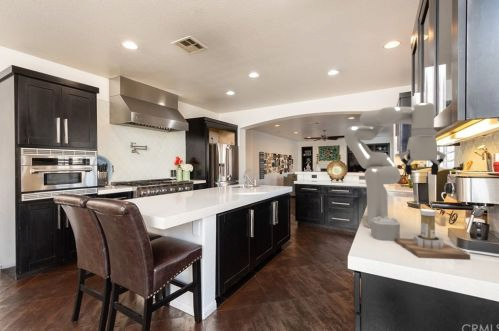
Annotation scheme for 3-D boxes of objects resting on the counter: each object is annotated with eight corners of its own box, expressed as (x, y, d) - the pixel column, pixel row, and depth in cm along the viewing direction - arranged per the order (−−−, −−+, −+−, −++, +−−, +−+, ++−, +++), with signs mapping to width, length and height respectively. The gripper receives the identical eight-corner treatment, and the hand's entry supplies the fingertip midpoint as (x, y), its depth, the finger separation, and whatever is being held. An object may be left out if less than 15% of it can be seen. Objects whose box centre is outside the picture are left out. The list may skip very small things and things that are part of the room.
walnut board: (394, 241, 101) (394, 238, 101) (436, 242, 99) (436, 239, 99) (418, 257, 83) (418, 253, 83) (470, 259, 81) (470, 254, 81)
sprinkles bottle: (437, 247, 88) (437, 211, 88) (423, 246, 89) (423, 210, 89) (432, 243, 93) (432, 209, 93) (418, 242, 94) (418, 208, 94)
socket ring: (409, 241, 96) (409, 234, 96) (433, 242, 95) (433, 234, 95) (422, 249, 87) (422, 240, 87) (449, 249, 86) (449, 241, 86)
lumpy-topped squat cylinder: (375, 240, 103) (375, 220, 103) (368, 232, 116) (368, 214, 116) (402, 241, 101) (402, 221, 101) (392, 233, 113) (392, 215, 113)
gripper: (439, 134, 102) (438, 174, 103) (395, 134, 105) (395, 173, 106) (451, 132, 95) (450, 175, 96) (403, 133, 98) (403, 175, 98)
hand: (421, 174), depth 101 cm, fingers open, 9 cm apart
